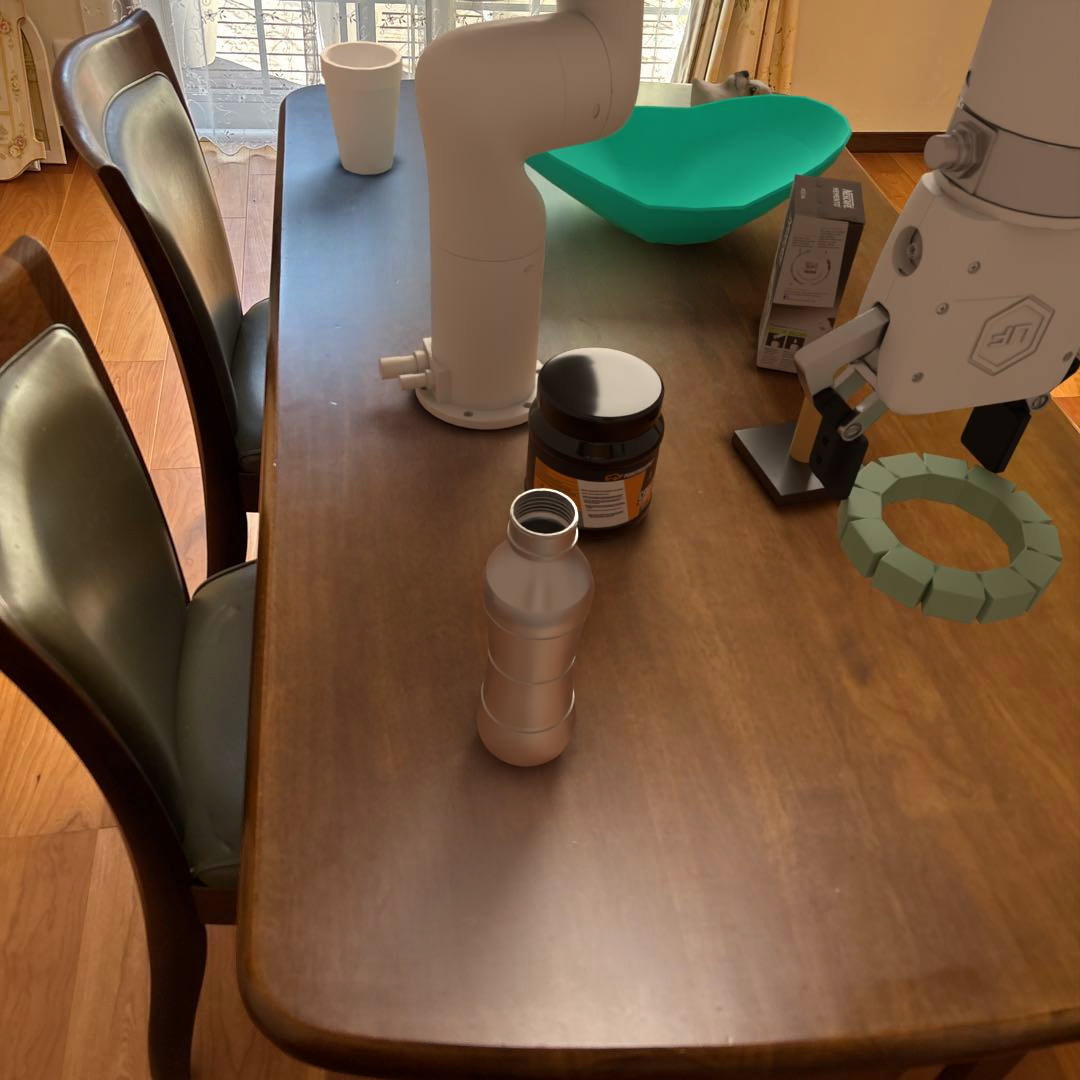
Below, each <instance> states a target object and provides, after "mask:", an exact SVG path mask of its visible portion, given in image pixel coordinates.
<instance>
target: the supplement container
mask: <svg viewBox="0 0 1080 1080" xmlns="http://www.w3.org/2000/svg"><path fill="white" fill-rule="evenodd" d="M664 383H665V382H664V381H663V378H662V377H661V375H660V373H659V372H658V371H657V370H656V369H655V368H654V367H653V366H652V365H651V364H650V363H648V362H647V361H645V360H644V359H642V358H641V357H638V356H637V355H634V354H631V353H629V352H626V351H623V350H619V349H615V348H610V347H602V346H601V347H600V346H585V347H578V348H573V349H568V350H565V351H562V352H560V353H558V354H555V355H554V356H552V357H550V358H549V359H548V360H547V361H546V362H545V363H543V367H542V368H541V370H540V372H539V374H538V380H537V393H536V397H535V399H534V400H533V402H532V404H531V406H530V409H529V413H528V421H527V426H528V437H527V451H526V465H525V476H524V481H523V493H524V492H526V491H529V490H533V489H551V490H555V491H558V492H561V493H563V494H564V495H566V496H568V497H569V498H570V499H571V500H572V501H573V502H574V503H575V505H576V507H577V511H578V523H577V529H578V538H579V539H588V540H589V539H590V540H591V539H593V540H595V539H596V540H597V539H606V538H611V537H615V536H619V535H622V534H624V533H626V532H628V531H630V530H632V529H633V528H635V526H636V525H638V524H639V523H640V522H642V520H643V519H644V517H645V516H646V515H647V514H648V511H649V509H650V506H651V503H652V499H653V498H652V497H653V486H654V480H655V476H656V475H655V474H656V471H657V470H656V469H657V464H658V459H659V453H660V447H661V445H662V443H663V438H664V436H665V429H666V427H665V419H664V418H665V417H664V415H663V413H662V409H663V408H662V407H663V404H664V397H665V384H664Z"/></svg>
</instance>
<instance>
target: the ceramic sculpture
mask: <svg viewBox="0 0 1080 1080" xmlns="http://www.w3.org/2000/svg"><path fill="white" fill-rule="evenodd" d="M766 94H773V92H772V90H771V88H770V87H769V85H767V84H766V82H764V81H763V80H761V79H759V78H755V79H753V78H751V77H750V72H749V71H748V70H746V69H745V70H740V71H735V72H733V73H732V74H729V75H728V76H727V78H726V79H725V80H724V81H723V82H721V83H711V82H708V81H706V80H703V79H699V78H697V77H694V78H692V81H691V91H690V103H689V105H690V107H692V106H697V105H701V104H706V103H710V102H715V101H719V100H724V99H728V98H736V97H746V96H756V95H766Z"/></svg>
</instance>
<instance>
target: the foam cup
mask: <svg viewBox="0 0 1080 1080" xmlns="http://www.w3.org/2000/svg"><path fill="white" fill-rule="evenodd" d="M319 60H320V73H321V77H322V79H323V81H324V86H325V90H326V96H327V99H328V101H327V102H328V105H329V110H330V115H331V120H332V124H333V129H334V134H335V139H336V144H337V149H338V153H339V159H340V163H341V165H342V167H343V169H345V170H346V171H348V172H350V173H352V174H358V175H363V176H364V175H365V176H366V175H378V174H382V173H385V172H387V171H389V170H390V169H392V167H393V165H394V162H393V161H394V156H395V145H396V136H397V135H396V134H397V126H398V125H397V124H398V115H399V114H398V112H399V102H400V93H401V82H402V80H403V77H404V68H403V65H404V63H403V54H402V53H401V52H400V51H399V50H398V49H397V48H395V47H393V46H391V45H387V44H385V43H381V42H374V41H364V40H362V41H361V40H358V41H357V40H354V41H353V40H352V41H351V40H350V41H344V42H337V43H334V44H331V45H328V46H326V47H324V48H323V49H322V50H321V52H320V54H319Z"/></svg>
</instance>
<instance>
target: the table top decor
mask: <svg viewBox="0 0 1080 1080" xmlns="http://www.w3.org/2000/svg"><path fill="white" fill-rule="evenodd" d="M852 135H853V131H852V127H851V125H850V122H849V119H848V118H847V117H846V115H844V114H843V113H842V112H840V111H839V110H838V109H836V108H835V107H834V106H832V105H831V104H829V103H826V102H823V101H820V100H817V99H814V98H811V97H809V96H806V95H792V94H780V93H779V94H777V93H775V94H774V93H772V94H766V95H756V96H746V97H736V98H728V99H724V100H719V101H715V102H710V103H706V104H701V105H697V106H692V107H691V106H689V107H687V106H686V107H685V106H664V105H663V106H661V105H660V106H658V105H635V107H634V109H633V112H632V114H631V116H630V118H629V119H628V121H627V122H626V124H625V125H624V126H623V127H622V128H621V129H620V130H619V131H617V132H616V133H614V134H613V135H611V136H608V137H606V138H603V139H600V140H597V141H592V142H588V143H584V144H580V145H575V146H570V147H565V148H561V149H556V150H551V151H547V152H545V153H541V154H537V155H533V156H531V157H529V158H527V159H526V160H525V163H524V164H526V165H527V166H528V167H530V168H531V169H532V170H533V171H534V172H536V173H537V174H539V175H540V176H542V177H543V178H544V179H545V180H546V181H548V182H549V183H550V184H552V185H554V186H555V187H557V188H558V189H560V190H561V191H562V192H564V193H566V194H567V195H568V196H570V197H571V198H573V199H574V200H576V201H577V202H578V203H580V204H582V205H583V206H584V207H586V208H588V209H589V210H591V211H593V212H594V213H595V214H597V215H598V216H600V217H602V218H603V219H605V220H606V221H608V222H609V223H611V224H612V225H613V226H615V227H616V228H618V229H620V230H621V231H623V232H624V233H626V234H629V235H631V236H633V237H636V238H640V239H641V240H643V241H645V242H647V243H648V244H663V245H664V244H667V245H677V246H681V245H690V244H692V245H693V244H700V243H710V242H711V243H712V242H713V241H716V240H717V239H720V238H722V237H724V236H726V235H728V234H730V233H732V232H734V231H736V230H737V229H740V228H742V227H743V226H745V225H748V224H749V223H751V222H753V221H755V220H757V219H759V218H761V217H762V216H764V215H766V214H767V213H769V212H770V211H772V210H774V208H776V207H778V206H779V205H780V204H781V205H782V203H784V202H785V201H787V200H789V197H790V193H791V189H792V185H793V181H794V176H795V174H798V175H804V176H811V177H821V175H823V174H824V173H825V172H826V171H827V170H828V169H829V168H830V167H832V166H833V165H834V164H835V162H836V161H837V160H838V159H839V156H840V155H841V154H842V152H843V151H844V149H845V147H846V145H847V144H848V142H849V141H850V139H851V136H852Z"/></svg>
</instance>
